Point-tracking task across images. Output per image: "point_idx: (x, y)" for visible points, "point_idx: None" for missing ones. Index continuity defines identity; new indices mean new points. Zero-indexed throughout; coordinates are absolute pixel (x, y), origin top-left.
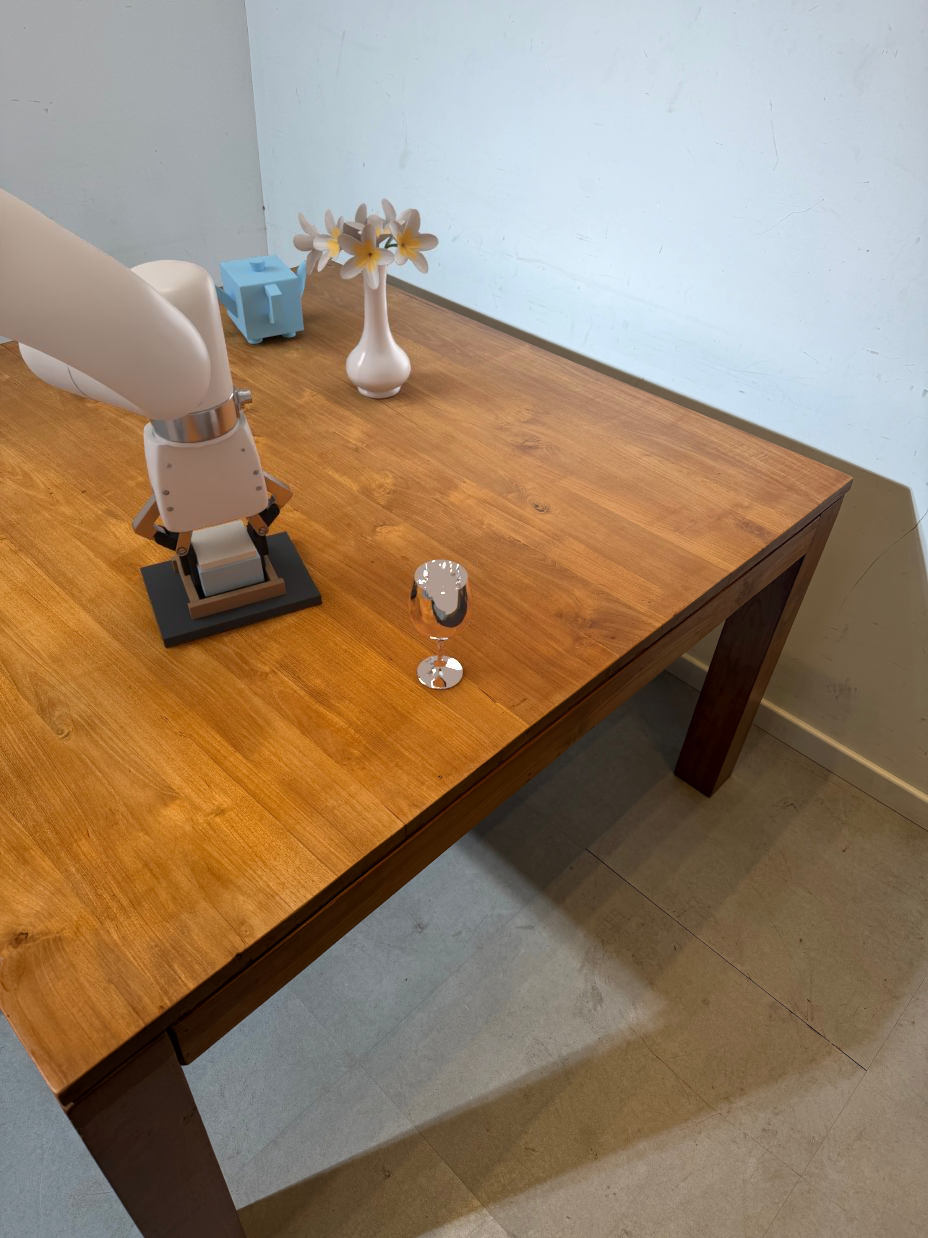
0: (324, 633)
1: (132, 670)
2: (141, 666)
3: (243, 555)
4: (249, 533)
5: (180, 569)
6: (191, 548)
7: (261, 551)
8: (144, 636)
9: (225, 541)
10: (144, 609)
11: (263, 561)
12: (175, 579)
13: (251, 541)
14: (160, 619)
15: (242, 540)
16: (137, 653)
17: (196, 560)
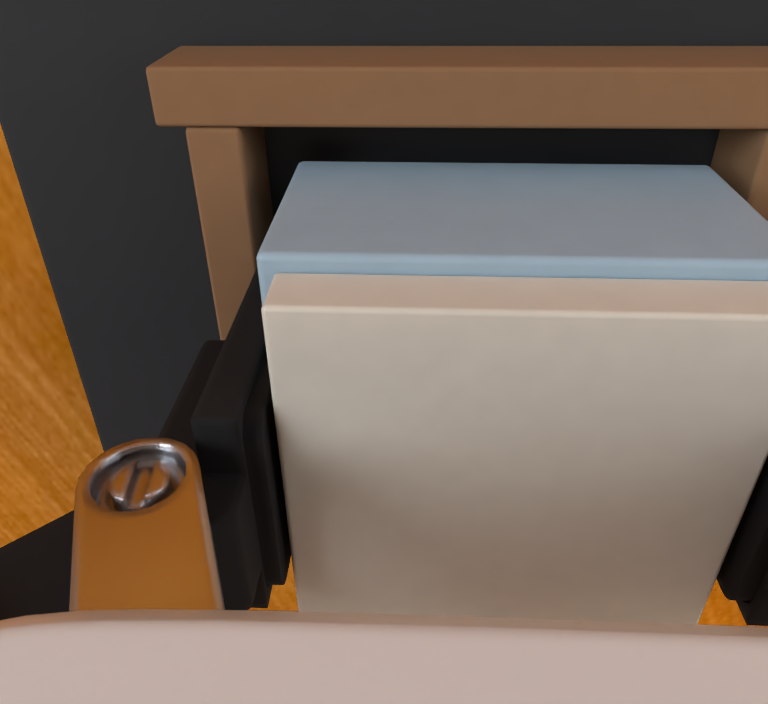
0: None
1: (28, 519)
2: (57, 515)
3: None
4: (758, 478)
5: (208, 245)
6: (265, 536)
7: None
8: (53, 396)
9: (538, 520)
10: (33, 238)
11: None
12: (186, 167)
13: (710, 582)
14: (108, 420)
15: (659, 552)
16: (35, 462)
17: (290, 550)
